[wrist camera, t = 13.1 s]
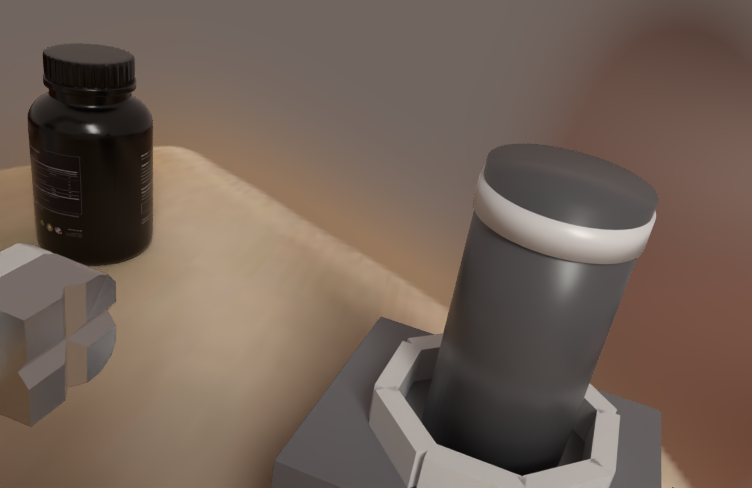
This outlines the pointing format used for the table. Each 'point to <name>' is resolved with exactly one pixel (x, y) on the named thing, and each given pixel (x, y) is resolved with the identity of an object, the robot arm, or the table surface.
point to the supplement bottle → (91, 156)
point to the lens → (534, 302)
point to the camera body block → (432, 461)
